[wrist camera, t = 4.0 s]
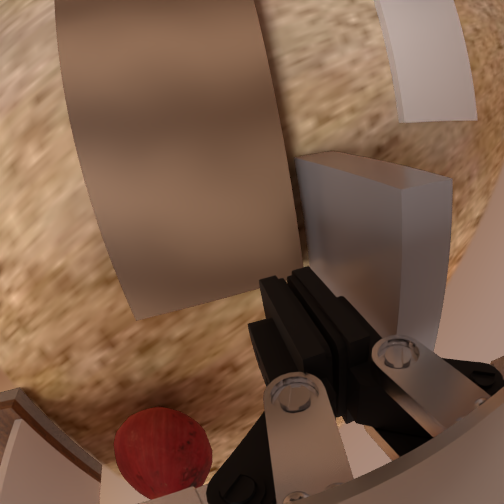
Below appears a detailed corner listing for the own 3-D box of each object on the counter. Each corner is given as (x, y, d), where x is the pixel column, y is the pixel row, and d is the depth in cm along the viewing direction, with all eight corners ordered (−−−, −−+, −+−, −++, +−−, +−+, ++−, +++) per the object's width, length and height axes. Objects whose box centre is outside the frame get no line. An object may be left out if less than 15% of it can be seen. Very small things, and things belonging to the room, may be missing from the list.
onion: (192, 373, 18) (208, 490, 10) (212, 426, 20) (232, 521, 13) (105, 386, 17) (91, 495, 9) (137, 436, 19) (138, 529, 12)
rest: (61, -21, 8) (54, -30, 7) (229, -61, 9) (233, -73, 8) (138, 307, 15) (136, 320, 14) (296, 265, 16) (304, 275, 15)
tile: (293, 157, 14) (401, 189, 7) (336, 149, 14) (458, 177, 7) (313, 299, 17) (386, 398, 10) (348, 288, 18) (432, 374, 10)
